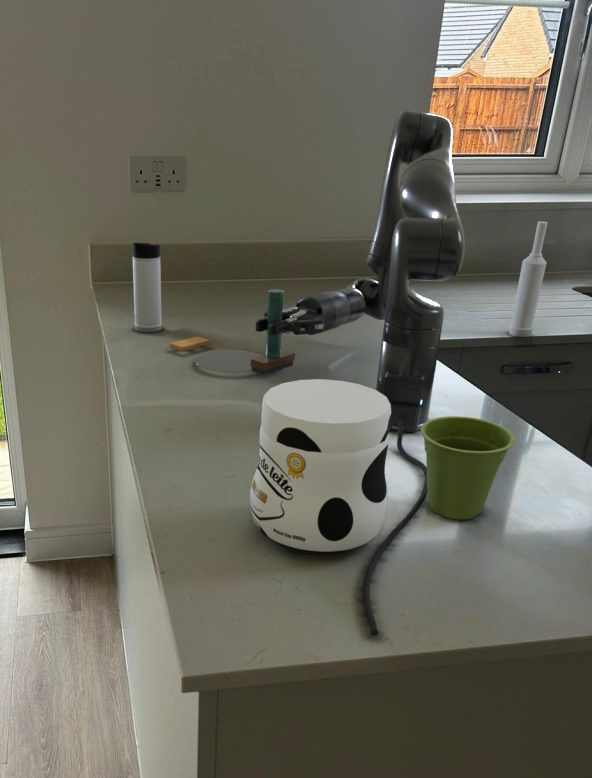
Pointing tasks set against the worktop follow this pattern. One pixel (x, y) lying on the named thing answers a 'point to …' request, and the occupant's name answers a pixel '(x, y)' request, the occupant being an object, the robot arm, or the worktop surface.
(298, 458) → the milk container
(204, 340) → the crust
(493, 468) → the plant pot
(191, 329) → the worktop surface
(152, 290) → the travel mug
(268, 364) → the peg on stand
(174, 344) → the block
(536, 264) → the bottle
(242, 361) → the turntable plate
